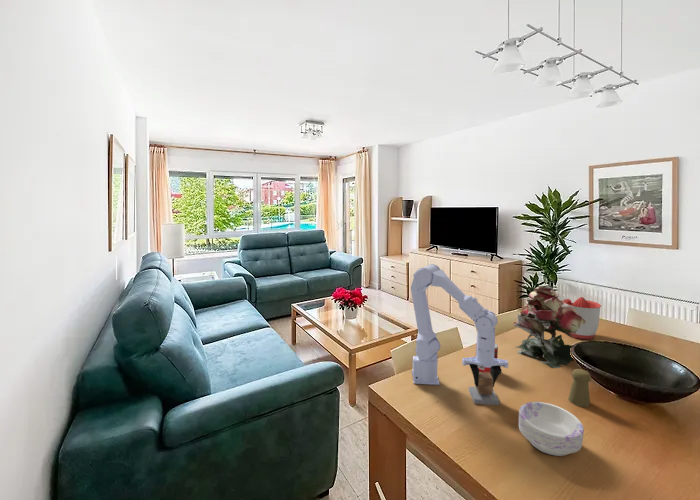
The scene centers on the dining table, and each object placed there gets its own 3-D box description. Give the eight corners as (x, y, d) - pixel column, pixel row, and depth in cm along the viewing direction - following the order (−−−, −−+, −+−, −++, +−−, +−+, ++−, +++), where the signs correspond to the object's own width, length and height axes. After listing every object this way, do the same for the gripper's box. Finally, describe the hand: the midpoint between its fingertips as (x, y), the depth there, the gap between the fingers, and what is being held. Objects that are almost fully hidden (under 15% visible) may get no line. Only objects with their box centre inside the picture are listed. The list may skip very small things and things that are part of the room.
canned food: (498, 375, 128) (500, 348, 126) (477, 373, 129) (478, 347, 128) (494, 366, 135) (495, 340, 134) (473, 364, 137) (474, 339, 135)
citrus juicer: (587, 329, 173) (590, 292, 171) (604, 342, 157) (608, 302, 154) (554, 327, 177) (557, 291, 174) (568, 340, 160) (571, 300, 158)
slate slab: (474, 404, 110) (474, 399, 110) (468, 391, 118) (468, 386, 118) (499, 406, 109) (499, 400, 109) (491, 392, 117) (492, 387, 117)
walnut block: (478, 393, 111) (479, 378, 110) (475, 386, 115) (476, 371, 115) (492, 394, 110) (493, 379, 110) (489, 387, 115) (489, 372, 114)
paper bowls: (583, 473, 81) (586, 444, 80) (515, 450, 89) (516, 423, 88) (579, 436, 94) (582, 411, 92) (520, 419, 101) (521, 395, 100)
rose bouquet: (588, 352, 147) (594, 287, 143) (558, 371, 130) (564, 298, 126) (530, 334, 168) (533, 277, 164) (498, 349, 151) (501, 285, 147)
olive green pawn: (586, 398, 112) (589, 368, 111) (593, 408, 106) (595, 376, 105) (566, 395, 114) (568, 365, 112) (571, 405, 108) (573, 373, 107)
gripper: (465, 351, 108) (464, 390, 110) (512, 354, 106) (510, 393, 108) (461, 343, 115) (460, 379, 117) (505, 345, 113) (503, 381, 115)
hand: (483, 385), depth 113 cm, fingers closed on walnut block, 4 cm apart
